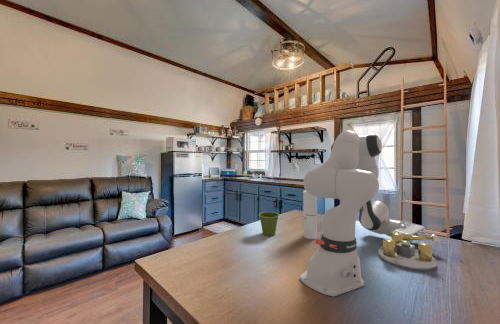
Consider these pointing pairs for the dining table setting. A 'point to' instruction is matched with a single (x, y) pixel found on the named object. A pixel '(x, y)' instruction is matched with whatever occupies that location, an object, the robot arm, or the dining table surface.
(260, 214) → the plant pot
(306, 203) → the cylindrical container
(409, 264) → the tribrach
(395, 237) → the brass lever handle
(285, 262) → the dining table surface
